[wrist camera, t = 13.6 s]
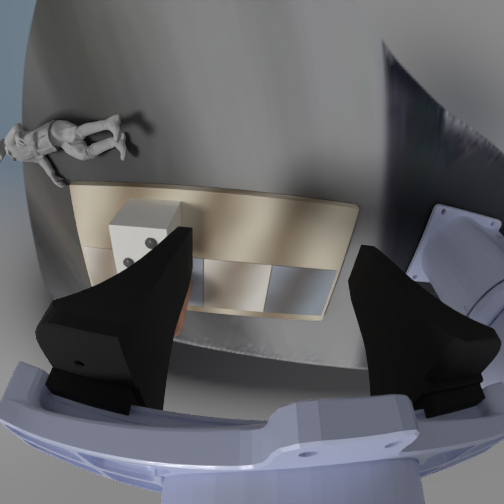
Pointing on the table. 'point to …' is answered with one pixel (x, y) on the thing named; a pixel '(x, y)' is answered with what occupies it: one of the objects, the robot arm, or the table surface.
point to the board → (234, 245)
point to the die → (141, 228)
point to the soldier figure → (61, 142)
